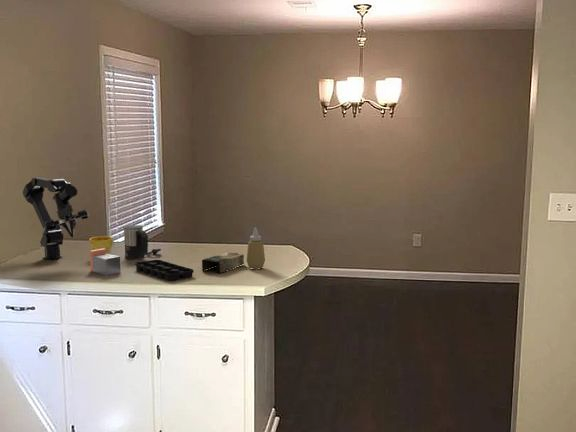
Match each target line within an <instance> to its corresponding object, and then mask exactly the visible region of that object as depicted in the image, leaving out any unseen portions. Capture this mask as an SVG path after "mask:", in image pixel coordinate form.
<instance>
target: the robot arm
mask: <svg viewBox="0 0 576 432" xmlns="http://www.w3.org/2000/svg"><path fill="white" fill-rule="evenodd" d="M45 189H47V191H49V192H51V193H53V195H52V200H53V201H55V205H56V209H57V211H56V213H57V217H58V218H59V219H58V220H55V219H54V218H53V219H52V218H51V215H50V214H49V212H48V209H47V206H46V205H45V202H44V201H43V197H44V192H45ZM77 194H78V189H77V188H76V187H75V186H74V185H72V184H71V182H67V181H66V179H64V178H55V179H51V178H47V177H42V176H35V177H32V178H31V180H30V181H29V182H28V183H27V184H25V185H24V187H23V190H22V196H23V197H24V199H25V201H26V202H28V203H29V204H31V205H32V206H33V209H34V211H35V213H36V215H37V218H38V220H39V222H40V224H41V226H42V229H43V231H42V234H41V235H42V237H41V239H40V240H39V243H40V246H41V247H44V256H43V257H42V259H45V260H58V259H62V258H63V256H62V255H61V249H60V246H62V245H63V242H64V233H63V230H62V228H64V229H65V231H67V233H68V234H69V236H70V238H72V239H73V238H74V237H75V230H76V229H75V228H76V225H77V224H79V222H78V221H77V219H81V220H87V219H89V218H90V217H91V216H90V213H89V211H88V210H86V209H82V210H79V211H77V214H74V213H73V212H74V207H73V205H72V204H70V203H71V202H70V201H71V200H72V199H73V198H75V197H76V196H77ZM68 223H69V224H68Z"/></svg>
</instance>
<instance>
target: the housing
mask: <svg viewBox="0 0 576 432" xmlns="http://www.w3.org/2000/svg"><path fill="white" fill-rule="evenodd" d="M92 259H93V271H92V272H93V273H95V274H99V275H103V276H112V275H115V274H120V273H122V272H121V271H122V269H121V256H119V255H114V254H111V253H110V254H107V253H106V254H101V255H95V256H92Z"/></svg>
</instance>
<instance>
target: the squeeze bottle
mask: <svg viewBox="0 0 576 432" xmlns="http://www.w3.org/2000/svg"><path fill="white" fill-rule="evenodd" d="M265 262H266V257H265V247H264V242H263V240H262V236H261V235H259V232H258V228H257V227H254V228H253V232H252V235H250V237H249V241H248V242H247V252H246V263H247V266H248V269H249V268H253V269H257V268H262V267H263V268H264V265H265ZM263 268H262V269H263Z"/></svg>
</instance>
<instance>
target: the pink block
mask: <svg viewBox="0 0 576 432" xmlns="http://www.w3.org/2000/svg"><path fill="white" fill-rule="evenodd" d="M101 254H106V249H104V248H103V249H97V250H92V249H91V250H89V267H90V268H89V269H90V272H93V259H92V256H95V255H101Z"/></svg>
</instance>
